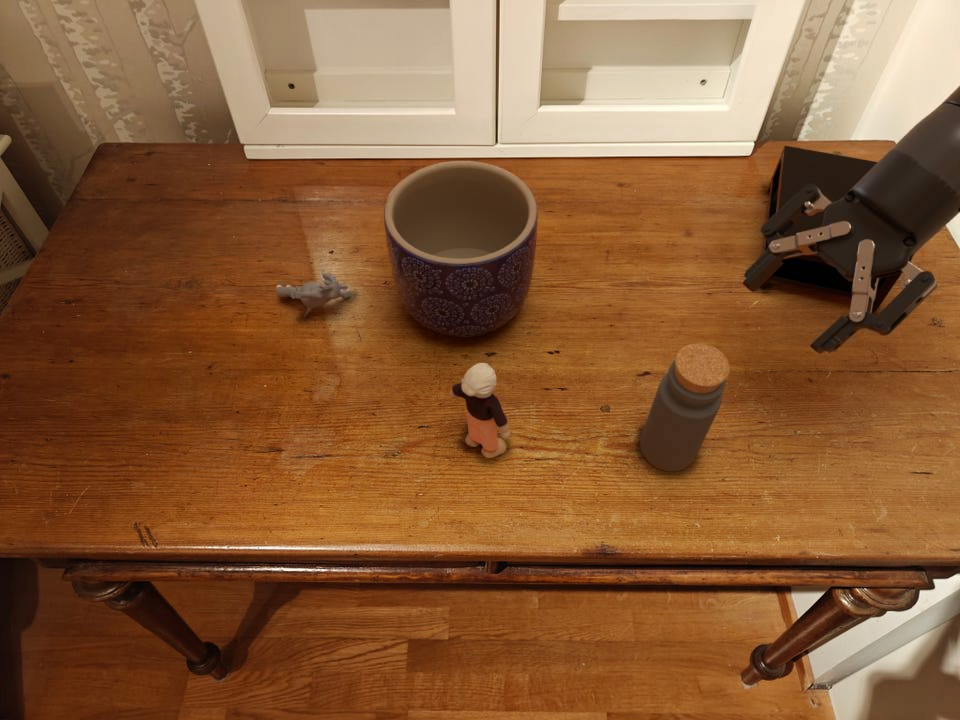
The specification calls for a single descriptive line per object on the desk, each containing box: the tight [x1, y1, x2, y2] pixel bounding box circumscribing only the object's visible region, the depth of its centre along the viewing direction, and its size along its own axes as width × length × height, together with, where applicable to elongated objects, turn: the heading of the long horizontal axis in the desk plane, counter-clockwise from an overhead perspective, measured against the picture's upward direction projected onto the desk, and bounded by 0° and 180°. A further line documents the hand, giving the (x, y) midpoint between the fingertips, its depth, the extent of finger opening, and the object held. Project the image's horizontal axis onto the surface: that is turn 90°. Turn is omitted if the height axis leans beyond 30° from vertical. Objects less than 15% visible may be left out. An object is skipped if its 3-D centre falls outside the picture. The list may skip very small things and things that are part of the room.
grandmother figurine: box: [449, 362, 511, 459], centre depth 69 cm, size 8×4×13 cm, turn 59°
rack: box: [758, 145, 903, 314], centre depth 89 cm, size 14×20×7 cm
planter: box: [383, 160, 539, 338], centre depth 80 cm, size 16×17×15 cm
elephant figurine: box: [275, 269, 353, 319], centre depth 84 cm, size 10×6×9 cm
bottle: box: [639, 342, 730, 472], centre depth 68 cm, size 6×6×15 cm
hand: (780, 318), depth 64 cm, fingers open, 8 cm apart
